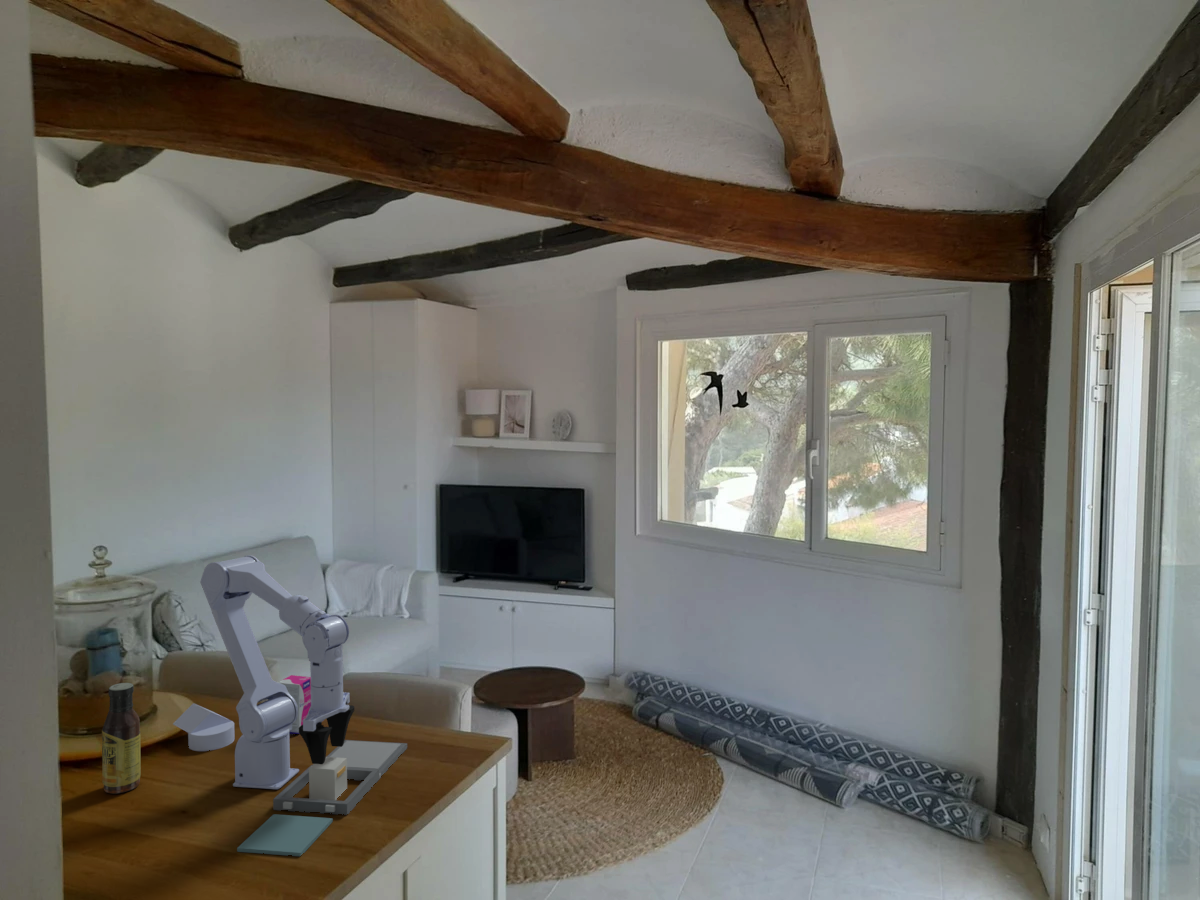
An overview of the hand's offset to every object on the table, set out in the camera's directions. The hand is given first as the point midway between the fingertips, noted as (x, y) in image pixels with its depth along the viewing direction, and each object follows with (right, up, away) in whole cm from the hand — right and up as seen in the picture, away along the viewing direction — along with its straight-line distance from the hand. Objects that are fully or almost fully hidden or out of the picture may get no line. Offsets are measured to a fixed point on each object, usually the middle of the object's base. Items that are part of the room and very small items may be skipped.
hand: (328, 754), depth 148 cm
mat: (-2, -8, -15) cm, 17 cm away
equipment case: (+1, -7, +7) cm, 10 cm away
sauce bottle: (-40, -8, +3) cm, 41 cm away
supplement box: (-18, -7, +31) cm, 36 cm away
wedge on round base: (-35, -7, +25) cm, 44 cm away
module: (0, -8, 0) cm, 8 cm away
